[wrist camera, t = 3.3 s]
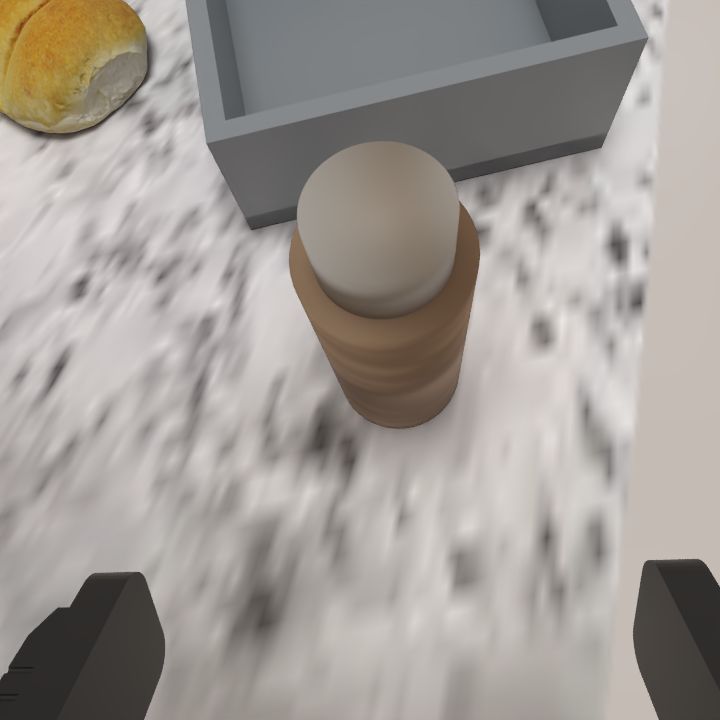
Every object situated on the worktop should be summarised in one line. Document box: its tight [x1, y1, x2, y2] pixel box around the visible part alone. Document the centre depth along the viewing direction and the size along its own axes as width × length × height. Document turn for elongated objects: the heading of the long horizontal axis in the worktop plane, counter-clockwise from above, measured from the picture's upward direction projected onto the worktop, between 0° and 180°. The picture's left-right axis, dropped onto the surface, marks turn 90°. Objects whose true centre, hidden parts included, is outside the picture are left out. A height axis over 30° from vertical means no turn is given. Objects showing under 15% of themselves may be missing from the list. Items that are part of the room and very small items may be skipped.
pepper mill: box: [289, 141, 480, 428], centre depth 19 cm, size 5×5×12 cm
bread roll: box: [0, 0, 147, 133], centre depth 30 cm, size 8×9×4 cm
